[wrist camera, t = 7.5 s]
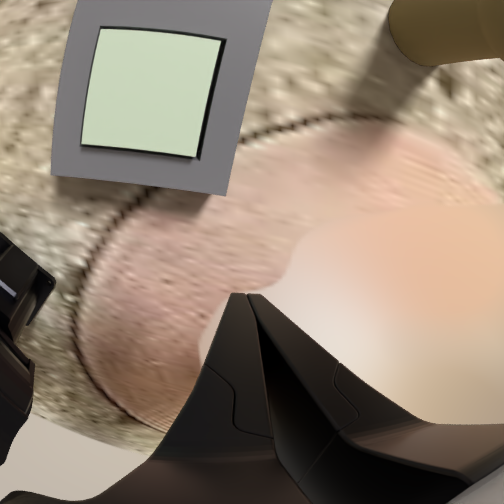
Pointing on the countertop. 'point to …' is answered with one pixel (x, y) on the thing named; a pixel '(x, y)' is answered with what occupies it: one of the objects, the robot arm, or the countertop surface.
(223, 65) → the key panel
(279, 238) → the countertop surface
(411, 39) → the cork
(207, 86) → the sage key
